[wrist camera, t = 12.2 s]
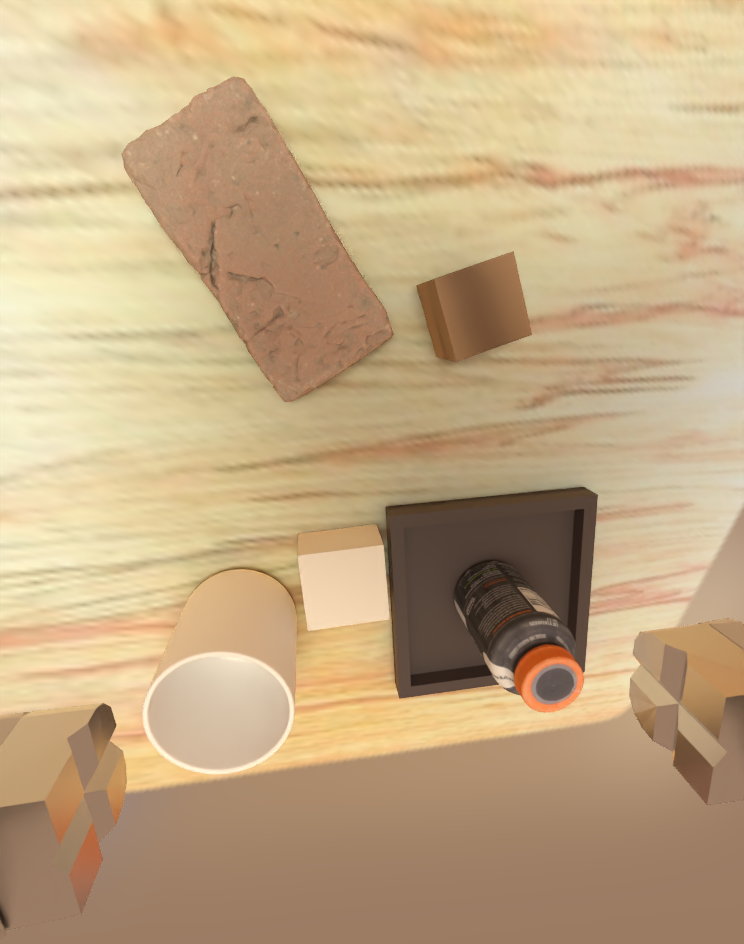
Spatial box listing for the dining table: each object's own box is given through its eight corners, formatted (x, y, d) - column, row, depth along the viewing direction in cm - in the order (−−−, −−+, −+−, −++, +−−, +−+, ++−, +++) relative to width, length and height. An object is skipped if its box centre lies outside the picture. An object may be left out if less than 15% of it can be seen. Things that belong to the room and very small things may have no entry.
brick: (132, 172, 30) (103, 146, 26) (246, 92, 30) (236, 52, 25) (290, 399, 35) (288, 410, 31) (389, 334, 35) (402, 335, 31)
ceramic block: (376, 523, 39) (383, 544, 35) (381, 591, 40) (389, 619, 37) (298, 532, 38) (297, 555, 34) (307, 601, 40) (307, 631, 36)
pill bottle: (454, 629, 41) (506, 735, 31) (450, 564, 40) (504, 653, 29) (523, 617, 42) (599, 718, 31) (523, 553, 40) (602, 637, 29)
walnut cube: (484, 261, 34) (513, 251, 29) (501, 333, 36) (531, 334, 31) (416, 285, 34) (434, 279, 29) (436, 356, 36) (456, 361, 31)
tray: (583, 487, 40) (597, 495, 38) (572, 657, 44) (584, 672, 43) (385, 506, 38) (389, 516, 36) (395, 681, 43) (399, 698, 41)
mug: (136, 655, 39) (75, 771, 29) (231, 543, 37) (202, 625, 27) (226, 707, 41) (200, 832, 31) (319, 605, 40) (324, 701, 30)
